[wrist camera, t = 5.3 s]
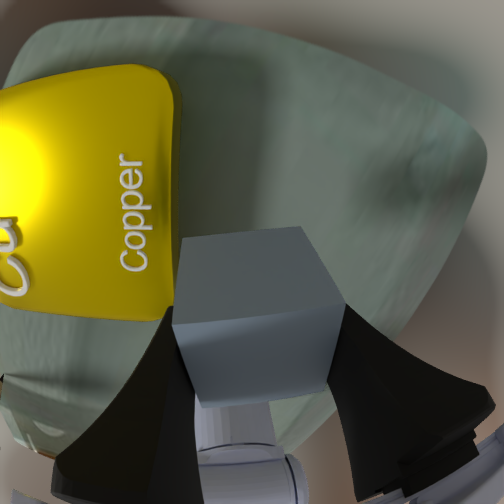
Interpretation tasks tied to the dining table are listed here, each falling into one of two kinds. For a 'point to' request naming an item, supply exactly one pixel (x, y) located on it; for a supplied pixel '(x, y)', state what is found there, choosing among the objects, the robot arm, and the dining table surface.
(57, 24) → the dining table surface
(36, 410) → the dining table surface
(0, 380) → the ice cream cone
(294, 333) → the slate-blue cube
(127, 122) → the element tile
